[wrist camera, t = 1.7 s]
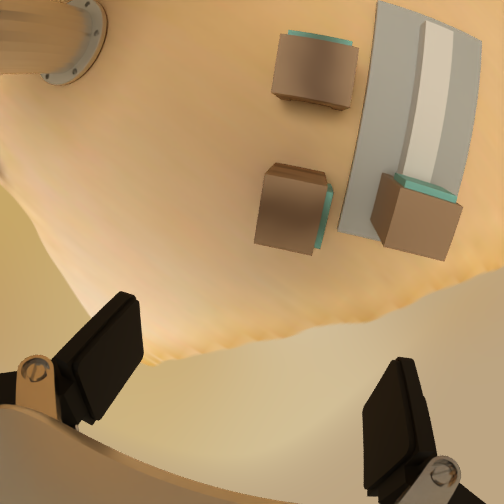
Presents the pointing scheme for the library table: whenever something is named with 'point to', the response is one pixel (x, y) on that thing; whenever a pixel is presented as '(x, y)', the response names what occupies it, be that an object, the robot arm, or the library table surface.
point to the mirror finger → (315, 69)
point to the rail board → (396, 110)
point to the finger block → (293, 209)
